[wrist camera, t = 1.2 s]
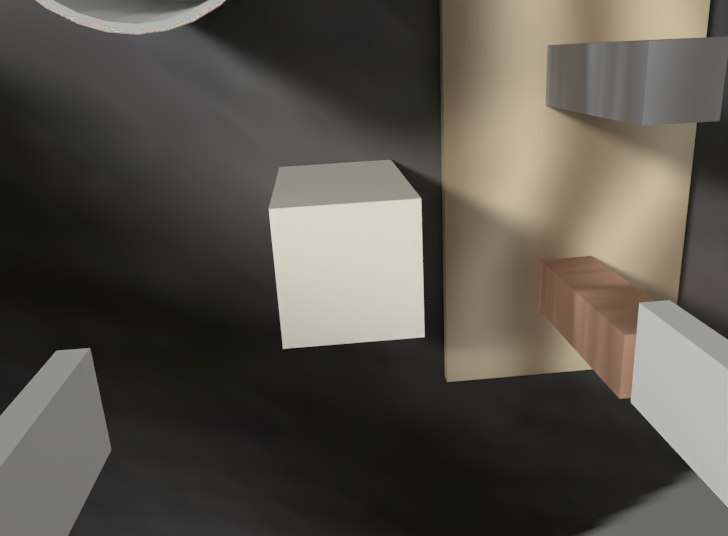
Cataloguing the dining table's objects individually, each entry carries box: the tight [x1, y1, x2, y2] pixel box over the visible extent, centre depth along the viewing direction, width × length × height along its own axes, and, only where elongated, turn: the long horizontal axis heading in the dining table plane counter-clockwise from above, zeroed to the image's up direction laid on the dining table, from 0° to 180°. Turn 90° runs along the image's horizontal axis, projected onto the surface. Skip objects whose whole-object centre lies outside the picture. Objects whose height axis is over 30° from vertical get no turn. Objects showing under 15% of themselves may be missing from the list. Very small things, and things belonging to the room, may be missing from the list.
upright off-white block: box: [269, 160, 425, 349], centre depth 27 cm, size 5×5×9 cm
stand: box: [439, 0, 728, 399], centre depth 27 cm, size 12×20×10 cm, turn 3°
